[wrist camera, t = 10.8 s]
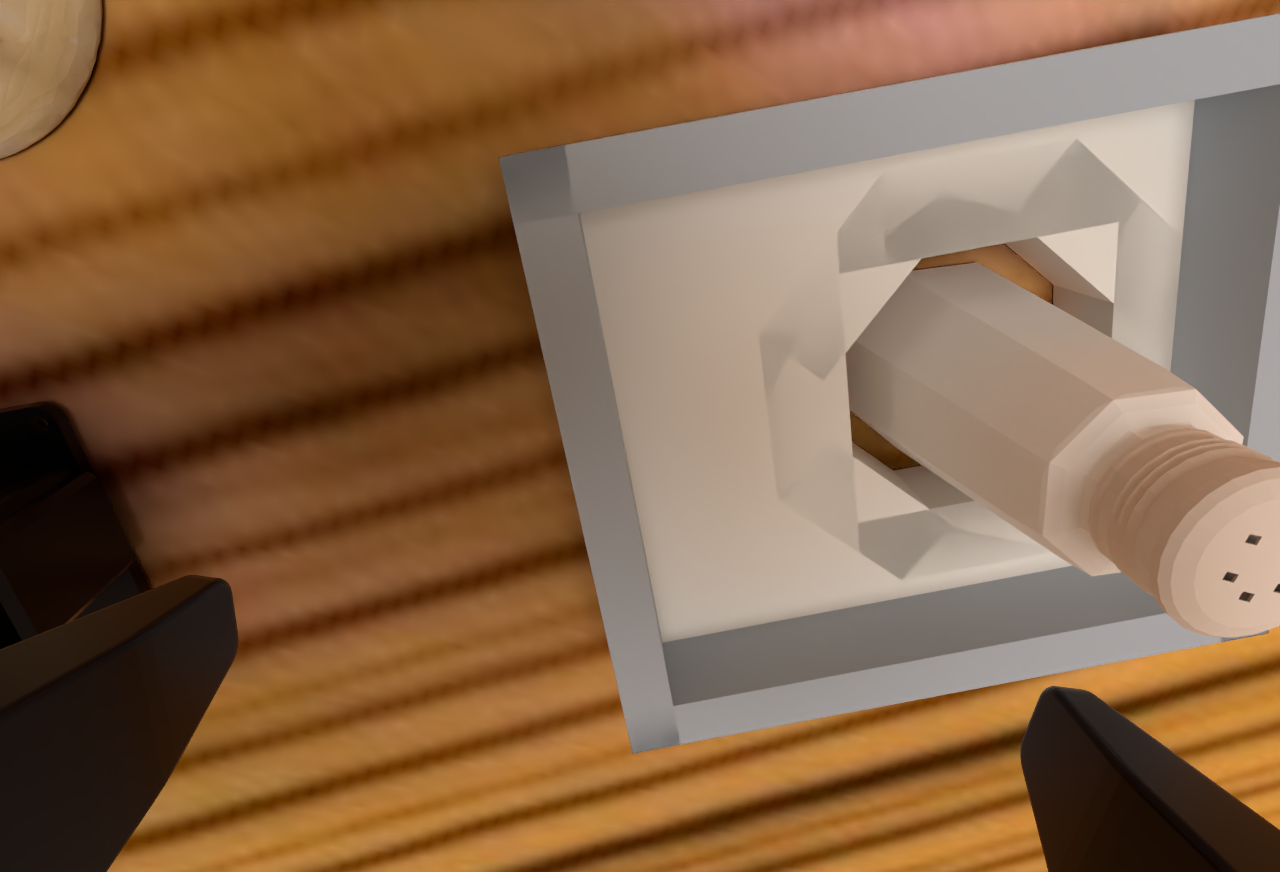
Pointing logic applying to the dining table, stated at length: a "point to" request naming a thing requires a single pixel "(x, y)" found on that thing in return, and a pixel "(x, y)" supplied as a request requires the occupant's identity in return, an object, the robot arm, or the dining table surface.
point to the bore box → (829, 325)
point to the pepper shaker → (1075, 444)
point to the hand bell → (43, 65)
